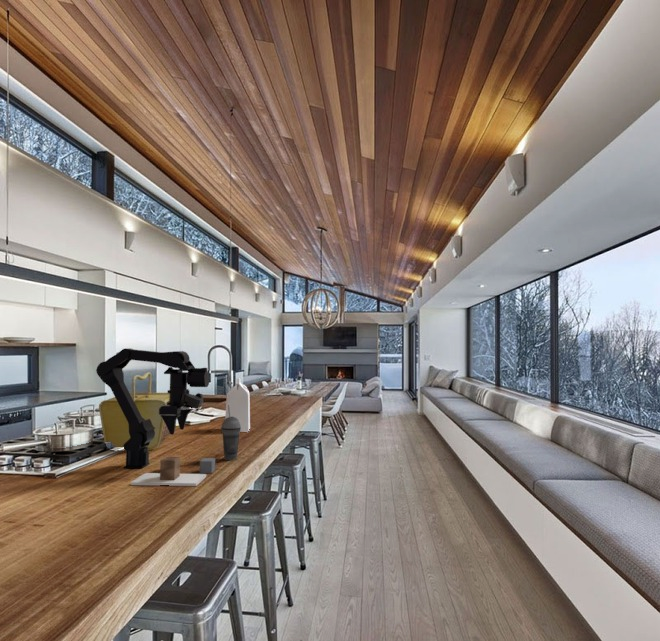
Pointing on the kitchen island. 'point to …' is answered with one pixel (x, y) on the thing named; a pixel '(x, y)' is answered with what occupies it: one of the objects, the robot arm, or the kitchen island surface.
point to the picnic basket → (148, 407)
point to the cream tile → (180, 481)
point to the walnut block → (169, 468)
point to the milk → (239, 405)
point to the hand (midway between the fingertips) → (177, 431)
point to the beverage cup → (230, 436)
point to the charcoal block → (207, 465)
